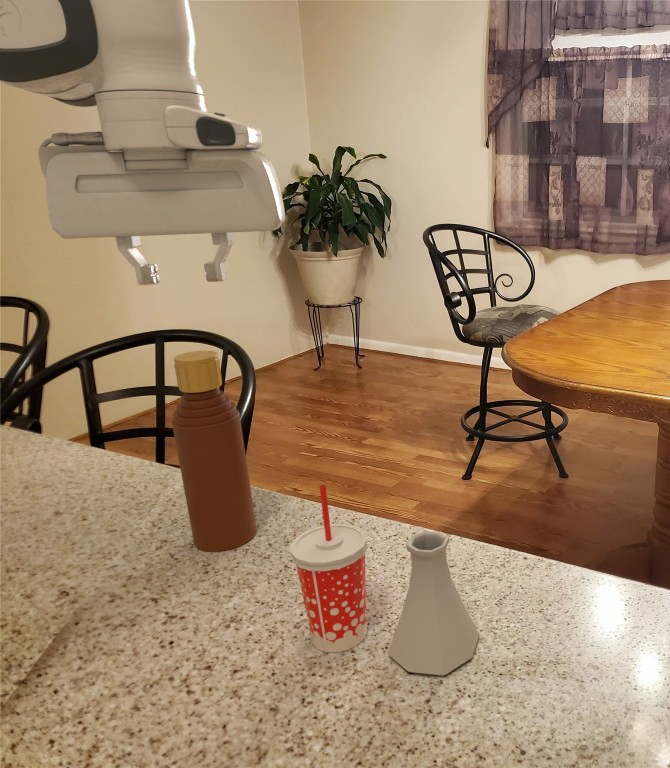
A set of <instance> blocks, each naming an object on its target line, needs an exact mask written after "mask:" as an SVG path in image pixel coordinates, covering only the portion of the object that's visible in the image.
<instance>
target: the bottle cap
mask: <svg viewBox="0 0 670 768" xmlns="http://www.w3.org/2000/svg"><path fill="white" fill-rule="evenodd" d="M173 361H174V364H173V366H174V370H175V377H176V382H177V383H176V384H177V388H178V389H179V391H180V392H182V393H184V392H186V393H198V392H205V391H210V390H213V389H216V388H218V387H219V388H220V387H221V386H222V385H223V377H222V370H221V365H220V358H219V356H218V352H216V351H214V350H196V351H194V350H193V351H188V352H183V353H181V354H177V355H175V356H174V357H173Z"/></svg>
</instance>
